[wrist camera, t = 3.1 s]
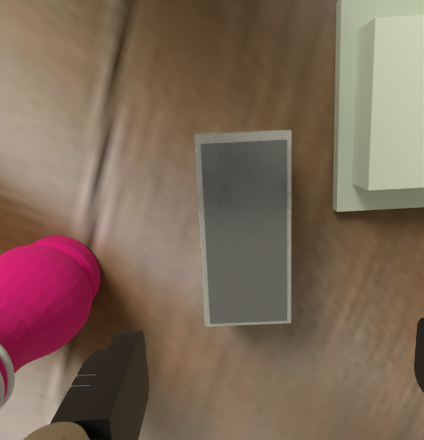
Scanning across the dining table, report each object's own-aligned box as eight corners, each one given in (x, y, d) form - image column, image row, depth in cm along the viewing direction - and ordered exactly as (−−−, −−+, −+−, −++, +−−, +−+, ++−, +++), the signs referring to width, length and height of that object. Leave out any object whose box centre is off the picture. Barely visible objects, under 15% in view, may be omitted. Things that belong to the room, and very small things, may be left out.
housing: (197, 133, 27) (193, 135, 21) (274, 129, 27) (293, 130, 21) (206, 288, 30) (204, 331, 24) (275, 285, 30) (292, 327, 24)
